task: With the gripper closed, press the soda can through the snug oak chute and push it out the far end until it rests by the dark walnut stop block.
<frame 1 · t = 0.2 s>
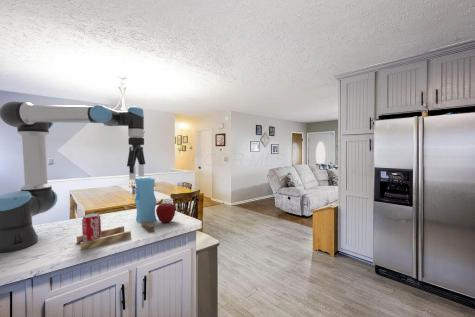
hand: (137, 177, 119), 28 cm above the table, fingers open, 13 cm apart
soda can: (92, 243, 103), on the table
chute: (104, 239, 106), on the table
stop block: (148, 229, 120), on the table
light blue storage bin: (145, 220, 137), on the table
apple: (166, 222, 132), on the table
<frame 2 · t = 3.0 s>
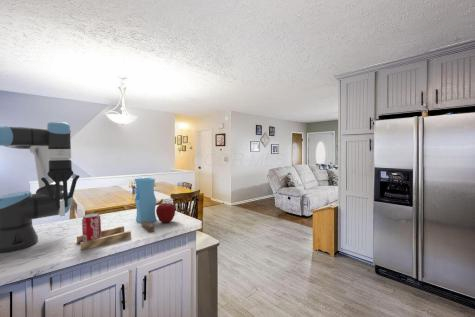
hand: (62, 215, 95), 15 cm above the table, fingers closed
nothing on the table moved.
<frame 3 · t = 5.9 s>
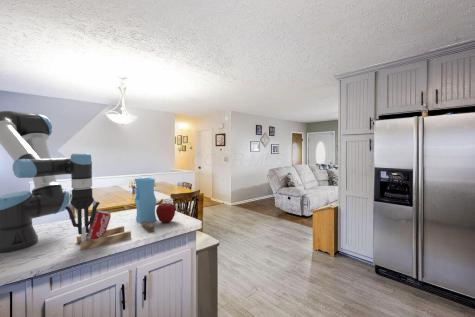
hand: (83, 240, 100), 2 cm above the table, fingers closed
soda can: (93, 240, 103), point 1 cm above the table, touching gripper
everything else where it was.
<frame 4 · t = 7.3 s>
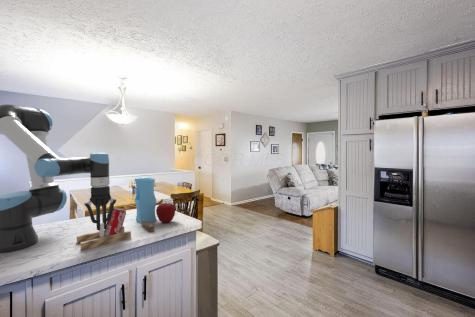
hand: (101, 236, 105), 2 cm above the table, fingers closed
soda can: (110, 236, 108), point 1 cm above the table, touching gripper, hand
everything else where it was.
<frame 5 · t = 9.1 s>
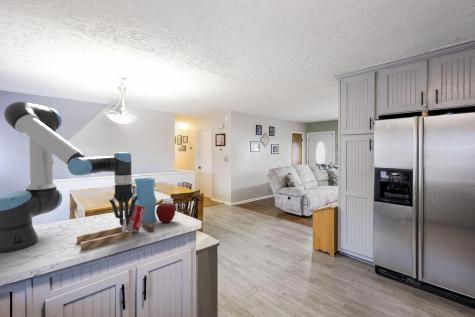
hand: (124, 231, 112), 2 cm above the table, fingers closed
soda can: (131, 231, 115), point 1 cm above the table, touching gripper, hand
everything else where it was.
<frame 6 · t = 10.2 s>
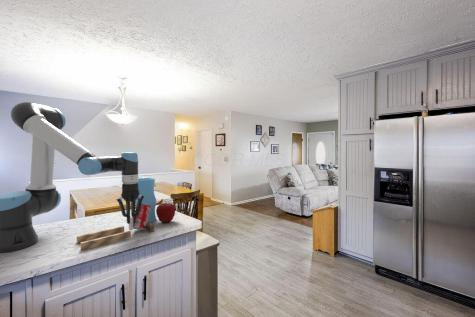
hand: (131, 229, 114), 2 cm above the table, fingers closed
soda can: (137, 229, 117), point 1 cm above the table, touching gripper, hand, stop block
everything else where it was.
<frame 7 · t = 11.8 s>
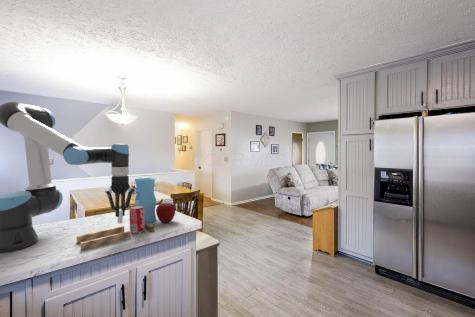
hand: (120, 222, 111), 6 cm above the table, fingers closed
soda can: (137, 232, 117), on the table
everything else where it was.
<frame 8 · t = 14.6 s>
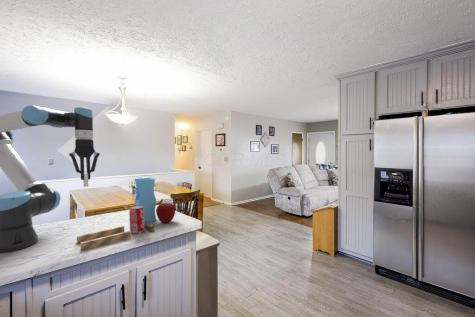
hand: (85, 186, 113), 24 cm above the table, fingers closed
nothing on the table moved.
at the end: soda can 5.4 cm from the stop block (horizontally); soda can tilted 0° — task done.
